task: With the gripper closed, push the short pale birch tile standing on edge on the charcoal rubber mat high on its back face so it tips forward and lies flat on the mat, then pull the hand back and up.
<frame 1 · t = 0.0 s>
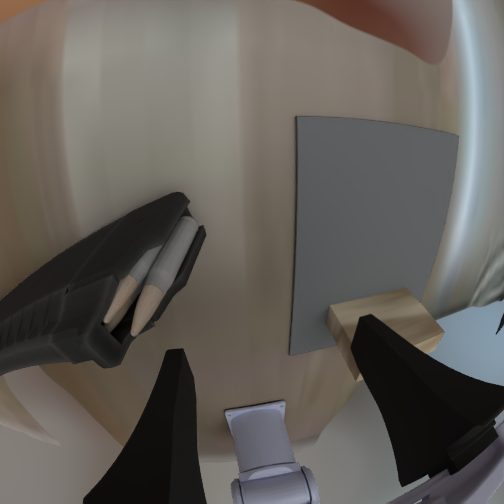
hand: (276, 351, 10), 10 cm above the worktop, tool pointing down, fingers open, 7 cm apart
mat: (379, 251, 22), on the worktop
tile: (368, 305, 25), resting on mat
magazine: (46, 283, 18), on the worktop
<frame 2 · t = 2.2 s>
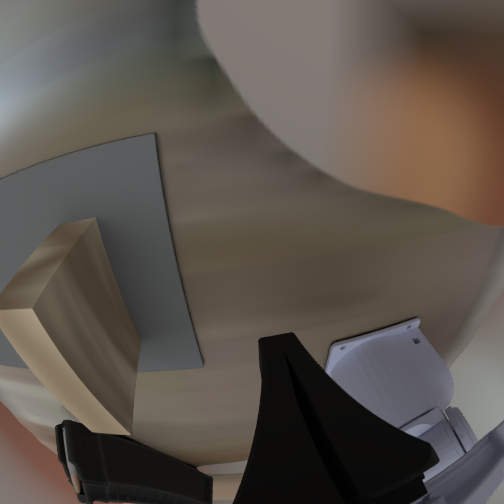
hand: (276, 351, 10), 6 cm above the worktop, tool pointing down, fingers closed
mat: (32, 295, 14), on the worktop
tile: (100, 291, 14), resting on mat
magazine: (150, 450, 29), on the worktop
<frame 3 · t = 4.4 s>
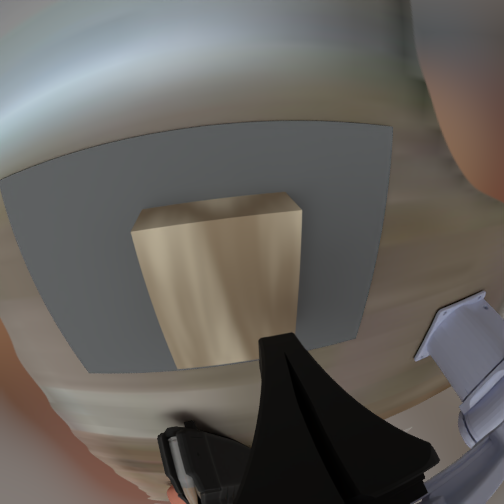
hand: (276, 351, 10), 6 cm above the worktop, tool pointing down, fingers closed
mat: (200, 277, 15), on the worktop
tile: (290, 281, 14), point 2 cm above the worktop, tilted 90°, touching mat
magazine: (235, 446, 30), on the worktop
sugar bowl: (197, 483, 42), on the worktop
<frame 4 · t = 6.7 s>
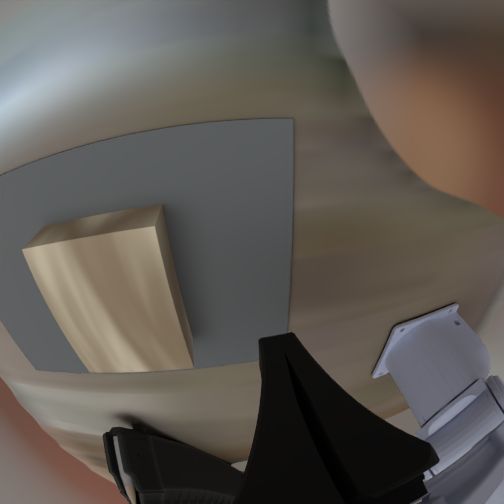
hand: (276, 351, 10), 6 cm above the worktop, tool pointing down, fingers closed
mat: (102, 287, 14), on the worktop
tile: (177, 296, 13), point 2 cm above the worktop, tilted 90°, touching mat
magazine: (192, 450, 29), on the worktop
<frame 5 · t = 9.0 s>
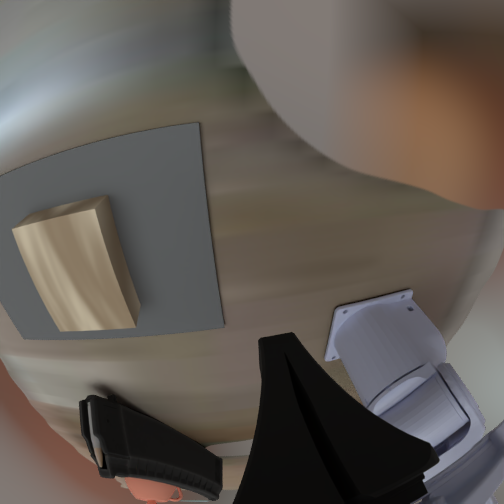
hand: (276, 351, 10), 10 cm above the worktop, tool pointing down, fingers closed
mat: (71, 261, 17), on the worktop
tile: (119, 265, 16), point 2 cm above the worktop, tilted 90°, touching mat
magazine: (165, 428, 32), on the worktop
sugar bowl: (153, 468, 44), on the worktop
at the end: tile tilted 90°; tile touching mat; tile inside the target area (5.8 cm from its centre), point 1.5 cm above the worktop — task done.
